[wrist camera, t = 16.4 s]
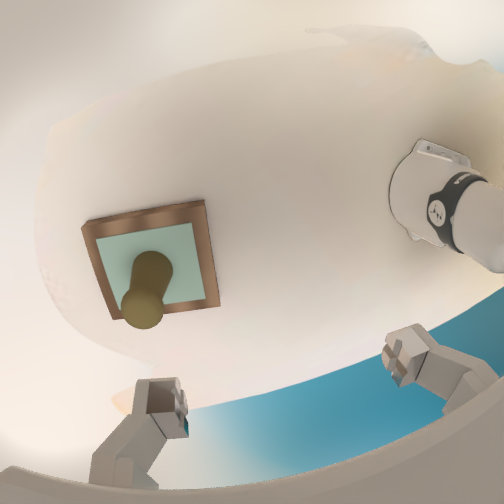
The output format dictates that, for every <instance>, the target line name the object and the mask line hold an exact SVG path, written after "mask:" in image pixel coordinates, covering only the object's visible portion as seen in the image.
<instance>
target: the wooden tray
mask: <svg viewBox="0 0 504 504" xmlns="http://www.w3.org/2000/svg"><path fill="white" fill-rule="evenodd" d="M81 230H82V234H83V237H84V240H85V244H86V247H87V250H88V254H89V257H90V260H91V263H92V266H93V269H94V272H95V275H96V277H97V280H98V283H99V286H100V289H101V291H102V294H103V297H104V299H105V302H106V304H107V307H108V309H109V312H110V314H111V317H112V319H113V320H117V319H124V317H123V315H122V313H121V305H120V304H121V301H122V298H123V296H124V294H125V293H126V292H127V291H128V290H129V286H130V279H131V272H132V265H133V262H134V260H135V258H136V257H137V256H138V255H139V254H141V253H142V252H145V251H157V252H160V253H162V254H164V255H165V256H166V257H167V258H168V259H169V260H170V262H171V264H172V267H173V275H172V278H171V280H170V283H169V285H168V287H167V290H166V292H165V295H164V297H163V299H162V300H163V303H164V314H168V313H176V312H184V311H191V310H198V309H205V308H212V307H219V306H221V305H220V297H219V291H218V285H217V279H216V274H215V268H214V262H213V255H212V249H211V243H210V236H209V230H208V223H207V217H206V210H205V203H204V200H201V201H194V202H188V203H181V204H175V205H169V206H163V207H157V208H152V209H146V210H141V211H135V212H130V213H125V214H119V215H114V216H109V217H104V218H100V219H95V220H90V221H87V222H86V223H85V224H84V225H83V226H82V227H81Z"/></svg>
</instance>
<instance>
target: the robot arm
mask: <svg viewBox="0 0 504 504" xmlns="http://www.w3.org/2000/svg"><path fill="white" fill-rule="evenodd" d="M427 147H428V148H427ZM390 206H391V210H392V213H393V215H394V217H395V219H396V220H397V221H398V222H399V223H400V224H401V225H402V226H403V227H405V228H406V229H407V231H408V234H409V236H410V238H411V239H413V240H415V241H418V240H421V239H424V240H426V241H428V242H430V243H432V244H434V245H436V246H438V247H442V246H445V245H447V246H448V247H449V248H450V249H452V250H454V251H457V252H458V253H461V254H466V255H468V256H469V257H470V258H472V259H473V260H475V261H476V262H478V263H479V264H481V265H482V266H483V267H485V268H486V269H488V270H489V271H491V272H493V273H501V274H502V273H504V188H501V187H498V186H495V185H492V184H490V183H488V181H486V180H485V179H484V178H483V177H482V176H481V174H480V172H479V171H477V170H474V169H472V168H471V163H470V160H469V157H467V156H464V155H462V154H460V153H457V152H455V151H452V150H450V149H447V148H445V147H442V146H440V145H437V144H434V143H432V142H429V141H426V140H423V139H420V140H418V142H417V143H416V145H415V147H414V149H413V151H412V152H411V153H410V154H409V155H408V156H407V157H406V158H405V159H404V160H403V161H402V162H401V163H400V164H399V166H398V167H397V169H396V171H395V173H394V175H393V178H392V181H391V186H390ZM385 341H386V343H387V344H386V345H385V347H384V348H383V350H382V361H383V364H384V366H385V368H386V369H387V370H389V371H391V372H392V378H393V380H394V381H395V382H396V384H397V386H398V387H402V386H405V385H407V384H410V383H412V382H415V381H416V383H417V384H419V385H421V386H422V387H424V388H426V389H428V390H429V391H431V392H433V393H434V394H436V395H438V396H440V397H442V398H443V399H445V400H447V401H448V402H447V403H446V405H445V406H444V408H443V411H442V412H443V414H444V415H445V416H443V417H441V418H440V419H438V420H436V421H434V422H432V423H431V424H429V425H427V426H425V427H423V428H421V429H419V430H417V431H415V432H413V433H411V434H409V435H407V436H405V437H403V438H401V439H398V440H396V441H394V442H392V443H389V444H387V445H384V446H382V447H380V448H377V449H375V450H372V451H370V452H367V453H364V454H362V455H359V456H356V457H353V458H351V459H348V460H345V461H342V462H339V463H336V464H332V465H329V466H326V467H322V468H319V469H315V470H312V471H308V472H304V473H300V474H296V475H292V476H287V477H283V478H278V479H273V480H268V481H262V482H256V483H250V484H243V485H236V486H226V487H216V488H204V489H185V490H184V489H183V490H159V485H158V483H156V482H155V481H154V480H153V479H152V478H151V477H150V476H149V475H148V474H147V472H148V470H149V469H150V467H151V465H152V464H153V462H154V461H155V459H156V457H157V456H158V454H159V452H160V451H161V449H162V448H163V446H164V444H165V443H166V441H167V439H175V438H187V437H189V433H188V432H189V431H188V421H187V419H186V415H187V414H188V406H187V399H186V396H185V393H184V390H182V389H180V381H179V379H178V377H173V378H156V379H139V380H138V381H137V383H136V388H135V394H134V401H133V409H132V414H129V415H127V416H126V418H125V419H124V420H123V421H122V422H121V423H120V424H119V425H118V426H117V428H116V429H115V430H114V431H113V432H112V433H111V434H110V435H109V436H108V438H107V439H106V440H105V441H104V442H103V443H102V444H101V445H100V446H99V448H98V449H97V450H96V451H95V452H94V453H93V455H92V462H91V469H90V475H89V483H82V482H77V481H71V480H66V479H61V478H57V477H53V476H49V475H45V474H41V473H37V472H33V471H30V470H27V469H24V468H21V467H17V466H10V467H8V468H6V469H5V470H3V471H2V472H1V473H0V504H504V376H503V377H502V378H499V377H498V375H497V374H496V373H495V372H494V371H493V370H492V369H491V368H490V366H489V365H488V364H487V363H486V362H485V361H484V360H481V359H478V358H475V357H473V356H470V355H468V354H465V353H462V352H460V351H457V350H454V349H452V348H449V347H447V346H444V345H441V346H440V345H439V344H438V343H437V342H436V341H435V340H434V339H433V338H432V337H431V335H430V334H429V333H428V332H427V331H426V330H425V329H424V328H423V327H422V326H421V325H420V324H418V323H417V324H414V325H411V326H408V327H405V328H402V329H399V330H396V331H394V332H391V333H388V334H387V336H386V339H385Z"/></svg>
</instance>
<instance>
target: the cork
mask: <svg viewBox="0 0 504 504" xmlns="http://www.w3.org/2000/svg"><path fill="white" fill-rule="evenodd" d="M172 275H173V267H172V264H171V262H170V260H169V259H168V258H167V257H166V256H165V255H164V254H162V253H160V252H157V251H145V252H142V253H141V254H139V255H138V256H137V257H136V258H135V260H134V262H133V265H132V272H131V279H130V286H129V290H128V291H127V292H126V293H125V294H124V296H123V298H122V301H121V304H120V305H121V313H122V315H123V317H124V319H125V320H126V321H127V323H128V324H130V325H131V326H133V327H135V328H138V329H149V328H152V327H154V326H156V325H157V324H158V323H159V322H160V321H161V319H162V317H163V314H164V303H163V300H162V299H163V297H164V295H165V292H166V290H167V287H168V285H169V283H170V280H171V278H172Z"/></svg>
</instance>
